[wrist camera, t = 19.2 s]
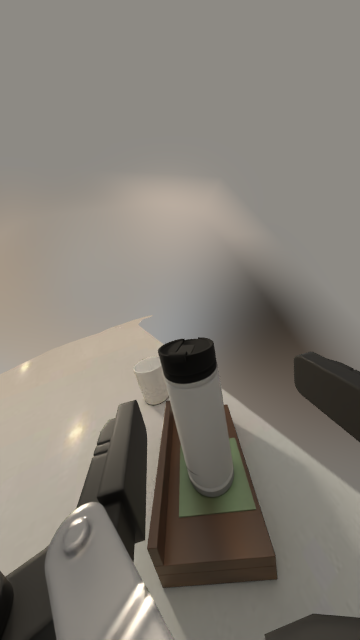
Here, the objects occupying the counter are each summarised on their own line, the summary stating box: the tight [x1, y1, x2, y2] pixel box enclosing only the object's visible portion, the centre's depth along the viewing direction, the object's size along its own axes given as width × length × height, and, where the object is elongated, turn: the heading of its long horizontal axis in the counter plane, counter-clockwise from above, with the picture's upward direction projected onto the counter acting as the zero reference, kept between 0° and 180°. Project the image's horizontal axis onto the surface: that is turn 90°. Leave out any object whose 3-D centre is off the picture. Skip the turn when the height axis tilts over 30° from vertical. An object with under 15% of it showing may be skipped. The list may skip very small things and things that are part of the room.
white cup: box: [133, 356, 169, 405], centre depth 48 cm, size 8×8×10 cm
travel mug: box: [158, 338, 234, 497], centre depth 22 cm, size 6×7×20 cm
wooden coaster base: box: [147, 401, 277, 588], centre depth 28 cm, size 12×20×7 cm, turn 179°
